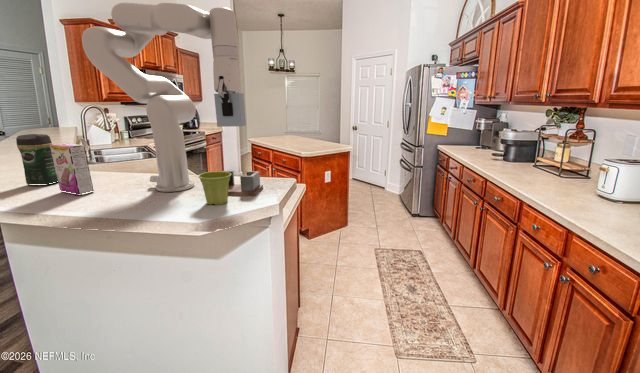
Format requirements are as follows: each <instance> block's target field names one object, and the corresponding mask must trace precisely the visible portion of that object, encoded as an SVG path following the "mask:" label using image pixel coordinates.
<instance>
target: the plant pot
mask: <svg viewBox="0 0 640 373" xmlns="http://www.w3.org/2000/svg"><path fill="white" fill-rule="evenodd" d="M223 171H224V170H220V171H219V170H218V171H215V170H214V171H207V172H203V173H200V174H198V178H199V180H200V182H201V185H202V189H203V192H204V197H205V200H206V204H208V205H209V206H210V205H211V206H212V205H215V206H216V205H217V206H218V205H223V204H225V203H227V202H228V198H229V195H228V187H229V180H230V176H231V173H229V172H223Z"/></svg>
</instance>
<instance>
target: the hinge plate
mask: <svg viewBox="0 0 640 373" xmlns="http://www.w3.org/2000/svg"><path fill="white" fill-rule="evenodd" d="M234 184H235V183H234ZM262 190H264V184H260V186H259V187H258V188H257V189H256V190H255V191H241V183H240V184H239V183H237V184H235V185H234V186H229V187H228V196H251V197H252V196H253V197H255V196H257V195H259V193H260V192H261V191H262Z"/></svg>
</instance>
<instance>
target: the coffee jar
mask: <svg viewBox="0 0 640 373" xmlns="http://www.w3.org/2000/svg"><path fill="white" fill-rule="evenodd" d="M15 141H16V147H17V149H18V151H19V152H20V157H21V161H22V166H23V169H24V176H25V182H26V185H27V184H49V183H53V182H57V181H58V179H57V175H56V170H55V166H54V162H53V158H52V154H51V150H50V146H49V145H52V144H53V143H52V139H51V137H50V136H49V135H48V134H41V133H40V134H39V133H29V134H21V135H17V137H16V138H15Z"/></svg>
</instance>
